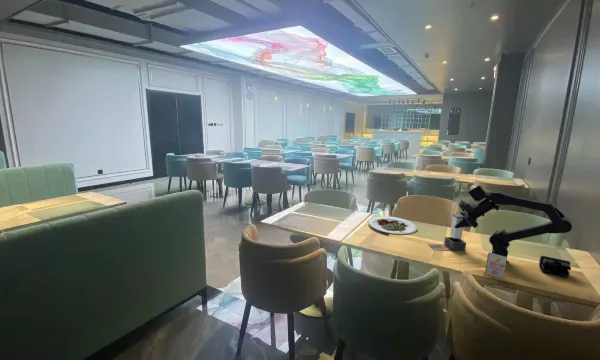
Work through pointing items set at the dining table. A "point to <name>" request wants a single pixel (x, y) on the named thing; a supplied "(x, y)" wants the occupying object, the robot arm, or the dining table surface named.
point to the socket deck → (449, 245)
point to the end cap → (554, 266)
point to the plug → (456, 231)
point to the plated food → (392, 225)
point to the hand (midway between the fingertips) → (454, 225)
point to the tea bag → (495, 265)
